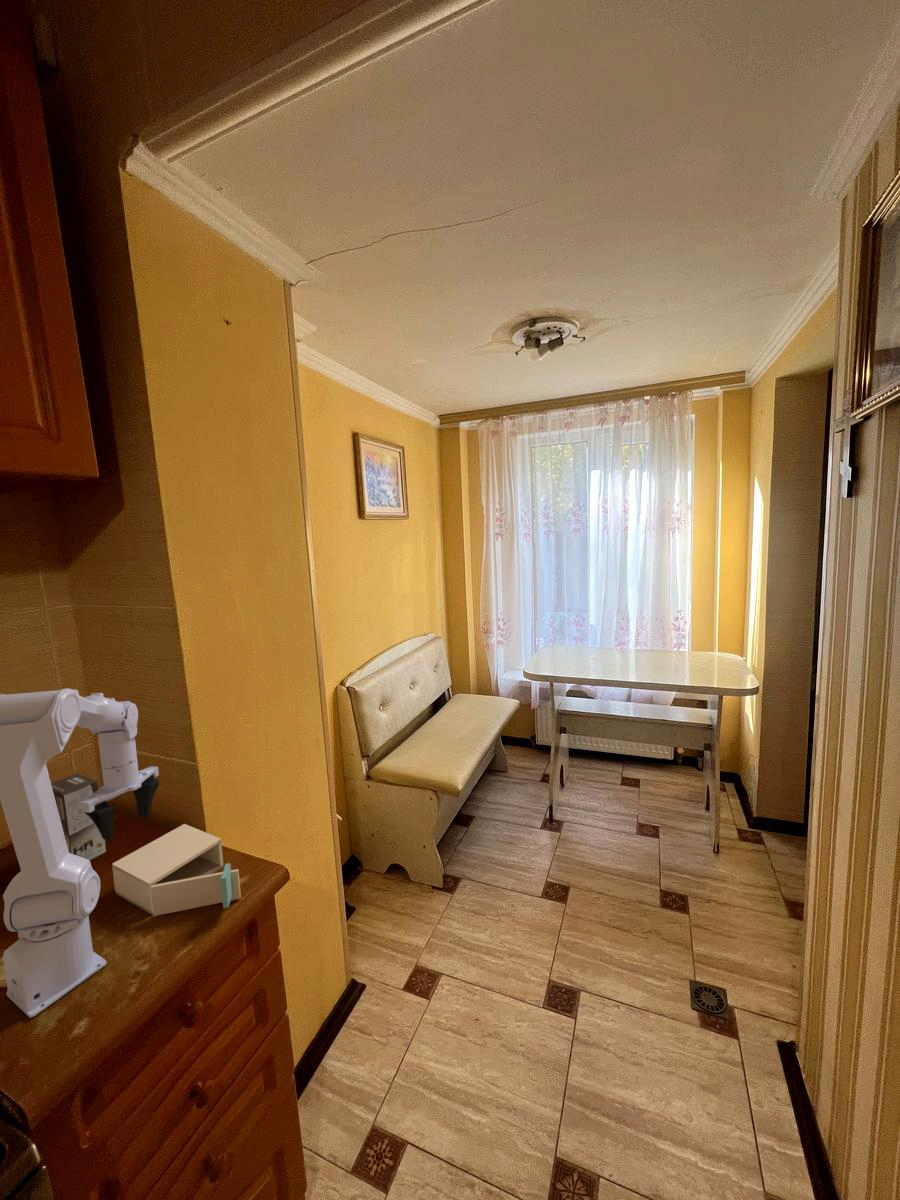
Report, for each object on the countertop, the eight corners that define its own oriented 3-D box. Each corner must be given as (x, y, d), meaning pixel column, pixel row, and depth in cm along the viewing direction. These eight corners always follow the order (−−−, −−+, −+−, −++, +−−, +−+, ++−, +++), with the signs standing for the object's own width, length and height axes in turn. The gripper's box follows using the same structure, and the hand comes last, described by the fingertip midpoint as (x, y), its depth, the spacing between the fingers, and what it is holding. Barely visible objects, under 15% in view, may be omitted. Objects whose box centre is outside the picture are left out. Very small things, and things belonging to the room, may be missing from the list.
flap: (145, 934, 77) (140, 894, 77) (155, 913, 82) (151, 875, 81) (236, 914, 81) (232, 876, 80) (240, 896, 85) (237, 859, 85)
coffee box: (108, 851, 100) (99, 780, 98) (72, 870, 94) (63, 795, 93) (86, 840, 104) (77, 772, 103) (51, 857, 99) (41, 785, 97)
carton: (152, 915, 82) (149, 883, 81) (115, 893, 87) (111, 863, 87) (223, 866, 94) (221, 838, 93) (187, 850, 100) (184, 823, 99)
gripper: (97, 782, 83) (106, 852, 85) (167, 748, 97) (173, 809, 98) (69, 777, 85) (77, 847, 87) (141, 745, 99) (147, 805, 100)
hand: (126, 826), depth 93 cm, fingers open, 7 cm apart
